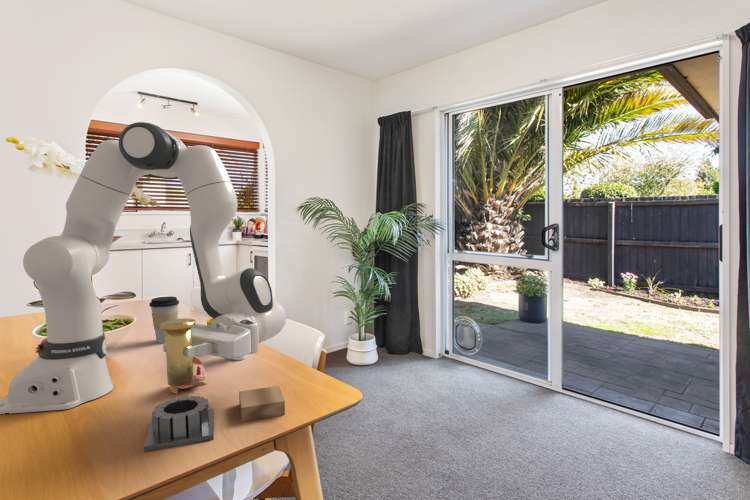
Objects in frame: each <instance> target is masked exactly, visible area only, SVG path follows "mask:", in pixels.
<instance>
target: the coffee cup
mask: <svg viewBox="0 0 750 500" xmlns="http://www.w3.org/2000/svg"><path fill="white" fill-rule="evenodd" d="M179 304H180V301H179V300H178V298H177V297H176V296H158V297H154V298H152V299H151V302H149V307H150V308H151V317H152V324H153V325H152V326H153V329H154V331H155V339H156V343H158V344H164V343H165V330H161V329H160V323H162V322H165V321H168V320H174V319H179V318H178V317H179V315H178V313H179V310H178V309H179Z"/></svg>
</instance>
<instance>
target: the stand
mask: <svg viewBox="0 0 750 500" xmlns="http://www.w3.org/2000/svg"><path fill="white" fill-rule="evenodd" d="M238 393H239V396H238V397H239V398H238V399H239V400H238V401H239V402H238V403H239V410H240V411H239V412H240V417H241V422H249V421H254V420H260V419H266V418H271V417H278V416H279V417H280V416H284V415H286V408H285V407H286V405H285V403H286V402H285V398H284V396H283V393H282V391H281V387H280V385H277V386H276V385H275V386H274V385H273V386H268V387H262V388H254V389H248V390H239V391H238Z"/></svg>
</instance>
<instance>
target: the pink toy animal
mask: <svg viewBox="0 0 750 500" xmlns="http://www.w3.org/2000/svg"><path fill="white" fill-rule="evenodd" d="M202 363H203V362H202V361H201V359H200V358H199V357H197V355H196V356H193V369H194V380H193V381H192V382H191V383H189V384H186V385H181V386H170V385H169V387H170V392H172V393H174V394H178V390H179V389H188V388H190V387H195V386H196V387H197V386H202V385H207V384H208V380H209V377H208V376H209V375H208V374H209V373H208V372H207V371H206V369H205V366H204V365H203V364H202Z"/></svg>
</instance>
